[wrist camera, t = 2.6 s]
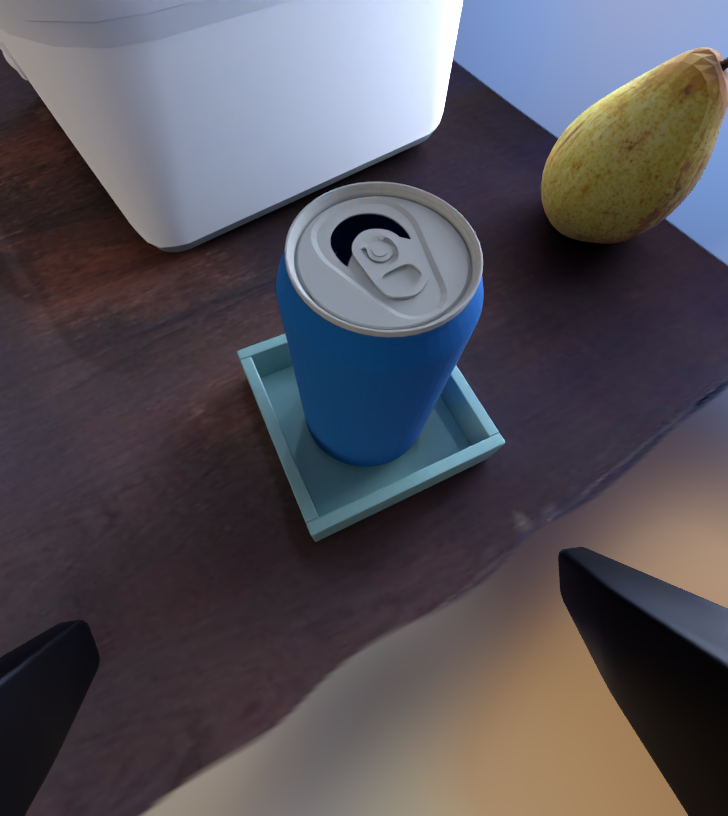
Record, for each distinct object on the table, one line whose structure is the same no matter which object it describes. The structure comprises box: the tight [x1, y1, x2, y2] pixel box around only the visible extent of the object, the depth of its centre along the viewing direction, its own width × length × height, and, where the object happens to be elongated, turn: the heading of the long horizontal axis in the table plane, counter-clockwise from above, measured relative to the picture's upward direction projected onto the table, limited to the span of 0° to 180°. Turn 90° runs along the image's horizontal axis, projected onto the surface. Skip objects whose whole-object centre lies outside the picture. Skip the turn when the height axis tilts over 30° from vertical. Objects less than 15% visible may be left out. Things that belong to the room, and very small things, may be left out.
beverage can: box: [276, 182, 484, 467], centre depth 17 cm, size 6×6×12 cm
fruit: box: [541, 47, 728, 244], centre depth 24 cm, size 9×9×12 cm
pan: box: [237, 334, 505, 542], centre depth 21 cm, size 10×10×3 cm
